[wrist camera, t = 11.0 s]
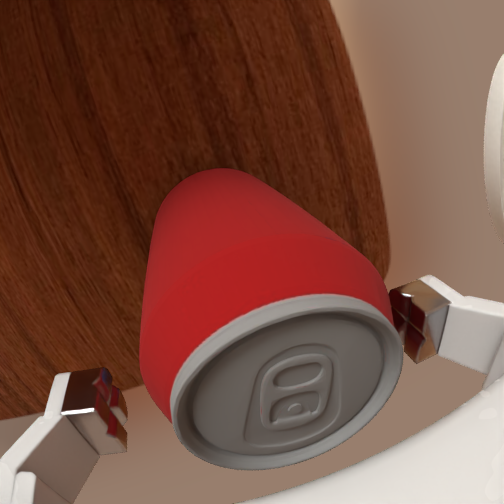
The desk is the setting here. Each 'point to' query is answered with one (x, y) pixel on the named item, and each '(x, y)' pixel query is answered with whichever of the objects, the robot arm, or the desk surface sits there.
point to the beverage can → (261, 326)
